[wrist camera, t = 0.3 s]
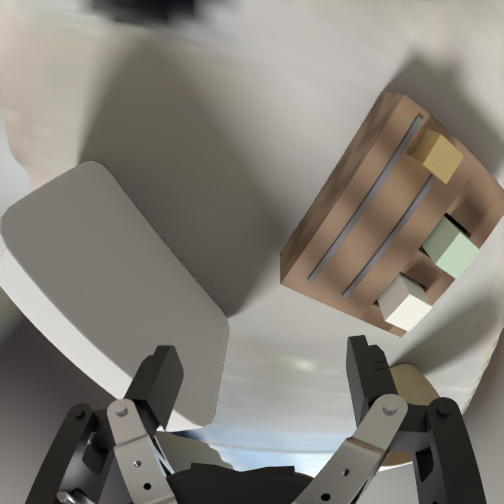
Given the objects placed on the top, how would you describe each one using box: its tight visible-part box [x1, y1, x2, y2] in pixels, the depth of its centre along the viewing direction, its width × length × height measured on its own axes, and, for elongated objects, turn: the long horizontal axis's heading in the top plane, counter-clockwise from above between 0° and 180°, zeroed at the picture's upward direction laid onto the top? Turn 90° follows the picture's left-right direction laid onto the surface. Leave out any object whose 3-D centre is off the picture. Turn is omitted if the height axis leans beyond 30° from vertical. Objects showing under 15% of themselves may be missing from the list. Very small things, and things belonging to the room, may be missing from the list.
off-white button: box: [377, 272, 432, 332], centre depth 31 cm, size 4×4×5 cm
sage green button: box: [422, 216, 480, 279], centre depth 27 cm, size 4×4×5 cm
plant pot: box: [381, 363, 440, 467], centre depth 41 cm, size 15×15×16 cm
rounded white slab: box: [0, 161, 229, 432], centre depth 30 cm, size 29×8×18 cm, turn 33°
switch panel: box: [280, 91, 504, 337], centre depth 30 cm, size 22×18×6 cm
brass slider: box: [406, 127, 464, 184], centre depth 21 cm, size 3×3×4 cm
